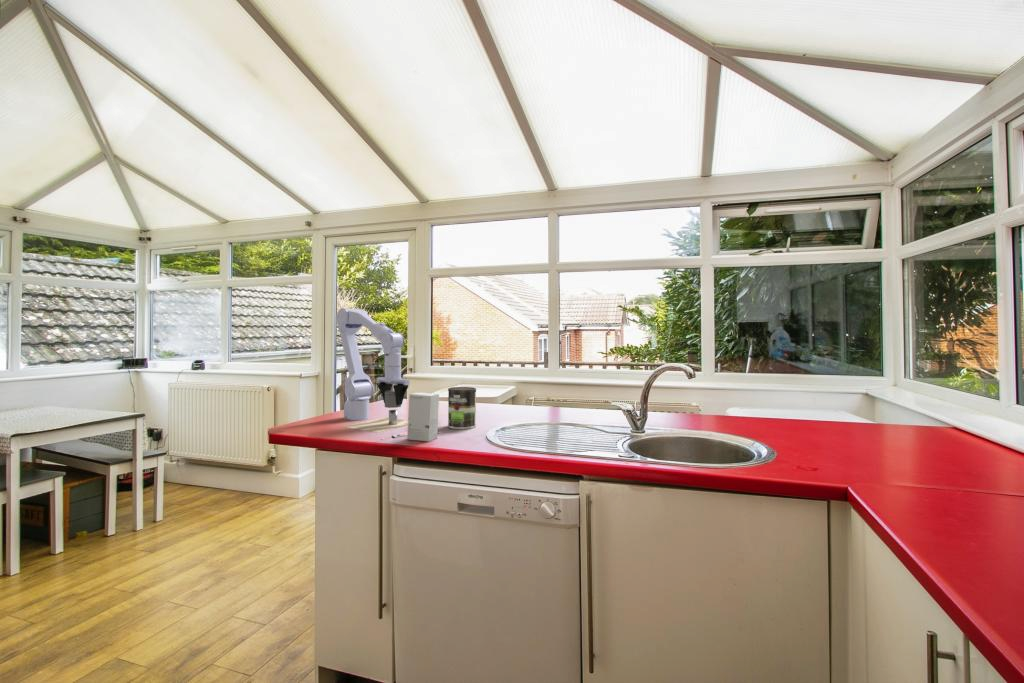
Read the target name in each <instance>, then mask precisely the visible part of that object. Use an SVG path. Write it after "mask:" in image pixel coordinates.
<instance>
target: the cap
mask: <svg viewBox="0 0 1024 683" xmlns="http://www.w3.org/2000/svg"><path fill="white" fill-rule="evenodd" d="M401 407H402V404H401V405H397V404H396V395H395V390H394V389H391V390H390V391H385V404H384V408H389V409H393V408H395V409H396V408H401Z"/></svg>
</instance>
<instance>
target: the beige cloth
mask: <svg viewBox="0 0 1024 683" xmlns="http://www.w3.org/2000/svg"><path fill="white" fill-rule="evenodd" d="M341 427H342V428H346V429H354V430H358V431H359V430H360V431H365V432H371V433H380V432H381V433H382V432H385V431H390V430H394V429H398V428H403V427H408V419H407V420H406V419H401V418H397V424H396V425H389V417H383V418H377V419H372V420H367V421H363V422H356V423H353V424H347V425H343V426H341Z"/></svg>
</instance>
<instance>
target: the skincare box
mask: <svg viewBox="0 0 1024 683" xmlns="http://www.w3.org/2000/svg"><path fill="white" fill-rule="evenodd" d="M408 396H409V397H408V399H409V400H408V417H407V420H408V425H407V440H408V441H409V440H410V441H420V442H432V441H434V440H437V439H438V430H439V428H438V427H439V426H438V425H439V405H440V402H439V401H440V400H439V399H440V394H437V393H430V392H429V393H428V392H413V393H409V395H408Z"/></svg>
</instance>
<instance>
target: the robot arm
mask: <svg viewBox="0 0 1024 683" xmlns="http://www.w3.org/2000/svg"><path fill="white" fill-rule="evenodd" d="M335 320H336V324H337V328H338V332H339V335H340V340H341V341H340V342H341V344H342V349H343V353H344V358H345V362H346V366H347V371H348V376H347V378H346V379H345V380H344V382H343V383H344V396H345V398H347V399H346V400H345V402H344V403H343V419H345V420H349V421H365V420H368V419H370V399H372V396H373V395H374V393H375V392H374V391H375V387H374V383H373V382H372V381H371V377H370V376H369V375H368V374H366V373H365V372H364V369H363V365H362V364H363V363H362V360H361V354H360V351H359V346H358V343H357V338H356V334H357V333H358V332H360V330H361V329H362V327H365V328H366V329H368V330H369V331H370V334H371V336H372V337H374V338H375V339H376V340H378V341H379V342H380V346H381V347H382V349H383V352H382V353H383V354H384V376H383V377H382V376H381V377H376V383H377V388H378V389H379V392H380V394H381V395H382V396H381V397H382V401H383V403H384V405H385V391H390V390H392V388H393V390H395V395H396V404H397V405H401V406H402V405H403V401H404V398H405V394H406V392H407V390H408V389H409V386H410V378H409V379H408V378H403V377H402V348H403V347H404V345H405V336H404V335H403V334H402V333H401V332H394V330H393V329H392V328H389V326H387V325H386V323H385V322H377V321H375V320H374V319H373V318H371V316H370V315H369V314H368V312H367V311H366V310H365V309H363V308H345V307H341V308H339V309H338V311H337V313H336V317H335Z"/></svg>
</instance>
